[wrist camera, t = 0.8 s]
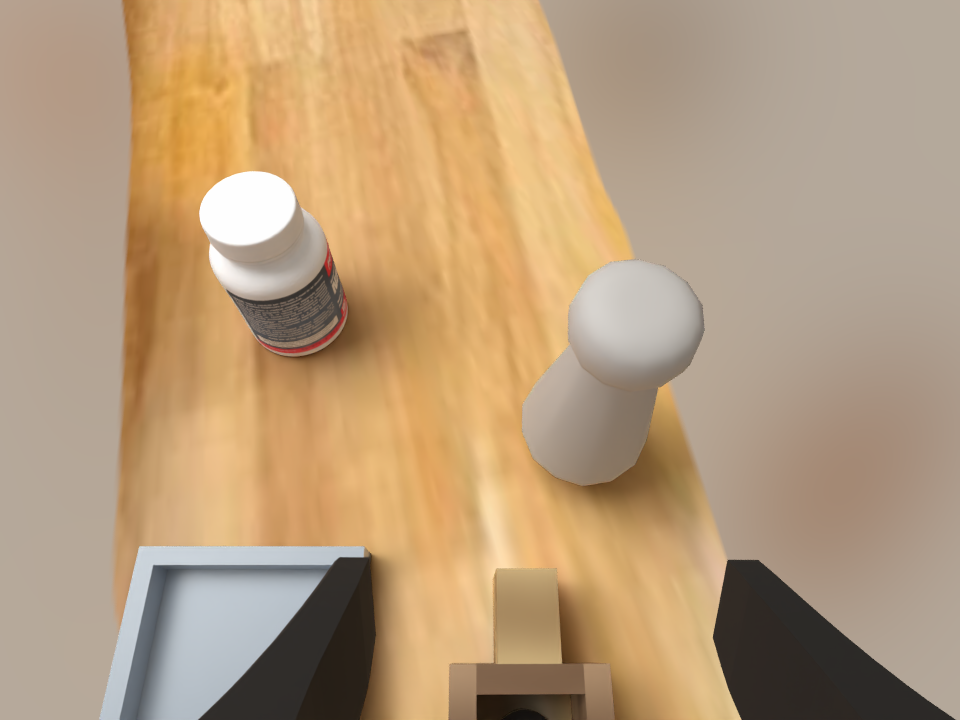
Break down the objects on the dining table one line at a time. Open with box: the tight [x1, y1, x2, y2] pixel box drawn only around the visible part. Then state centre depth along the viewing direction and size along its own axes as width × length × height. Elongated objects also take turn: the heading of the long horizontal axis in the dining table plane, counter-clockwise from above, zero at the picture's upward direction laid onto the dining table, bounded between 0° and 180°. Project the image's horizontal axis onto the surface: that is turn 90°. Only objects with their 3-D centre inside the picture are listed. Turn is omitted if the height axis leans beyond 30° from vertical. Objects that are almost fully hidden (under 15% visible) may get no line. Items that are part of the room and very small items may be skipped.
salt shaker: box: [522, 259, 704, 486], centre depth 25 cm, size 6×6×13 cm
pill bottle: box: [200, 171, 348, 356], centre depth 29 cm, size 5×5×9 cm
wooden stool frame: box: [449, 568, 615, 720], centre depth 24 cm, size 9×6×4 cm, turn 0°
